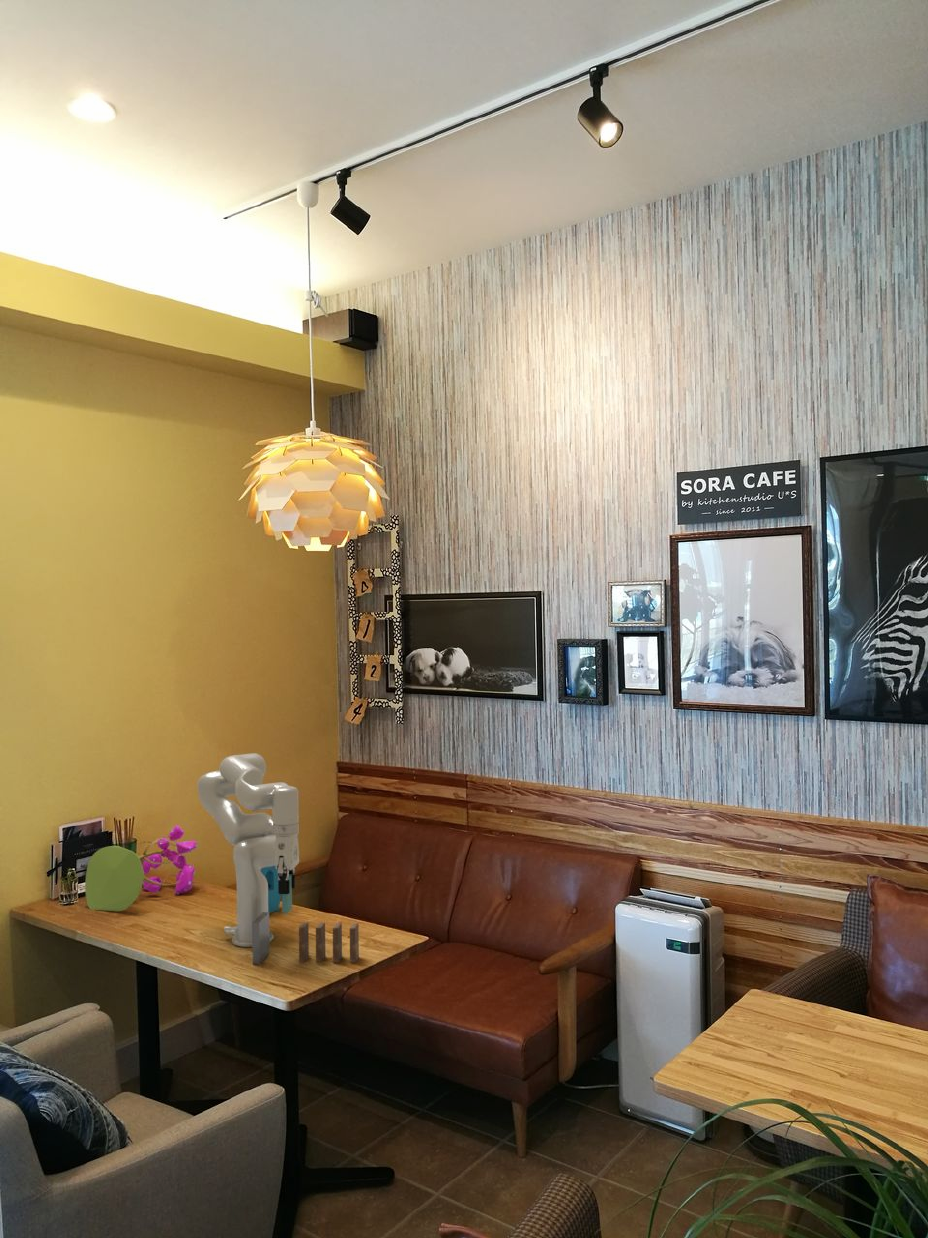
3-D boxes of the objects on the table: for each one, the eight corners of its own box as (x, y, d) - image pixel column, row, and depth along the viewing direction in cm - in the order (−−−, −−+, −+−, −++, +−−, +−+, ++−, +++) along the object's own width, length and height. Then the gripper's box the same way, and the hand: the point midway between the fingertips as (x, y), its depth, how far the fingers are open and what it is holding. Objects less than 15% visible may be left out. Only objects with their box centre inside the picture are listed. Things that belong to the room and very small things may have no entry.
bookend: (252, 964, 275) (252, 922, 275) (263, 952, 285) (262, 912, 285) (259, 964, 275) (259, 922, 275) (269, 952, 285) (269, 912, 285)
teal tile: (292, 908, 282) (291, 874, 282) (287, 913, 277) (287, 879, 277) (286, 908, 282) (286, 874, 282) (282, 913, 277) (281, 879, 277)
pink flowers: (92, 819, 337) (164, 815, 368) (69, 896, 337) (143, 886, 368) (150, 849, 323) (220, 843, 353) (126, 930, 322) (198, 916, 353)
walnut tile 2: (333, 962, 276) (332, 928, 276) (336, 956, 281) (336, 922, 281) (338, 962, 276) (338, 928, 276) (342, 956, 281) (341, 922, 281)
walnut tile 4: (299, 962, 277) (298, 927, 277) (303, 956, 282) (303, 922, 282) (304, 962, 277) (304, 927, 277) (308, 956, 282) (308, 922, 282)
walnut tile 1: (350, 963, 276) (349, 928, 276) (353, 957, 281) (353, 923, 281) (355, 963, 275) (355, 928, 275) (358, 957, 280) (358, 923, 280)
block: (255, 917, 320) (254, 857, 320) (246, 914, 323) (245, 855, 323) (283, 908, 329) (283, 850, 329) (274, 906, 332) (274, 848, 332)
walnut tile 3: (316, 962, 276) (315, 928, 276) (320, 956, 281) (319, 922, 281) (321, 962, 276) (321, 928, 276) (325, 956, 281) (325, 922, 281)
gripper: (290, 835, 271) (291, 899, 271) (305, 823, 288) (306, 883, 288) (264, 835, 272) (265, 899, 271) (281, 823, 289) (282, 883, 288)
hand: (286, 890), depth 280 cm, fingers closed on teal tile, 4 cm apart
